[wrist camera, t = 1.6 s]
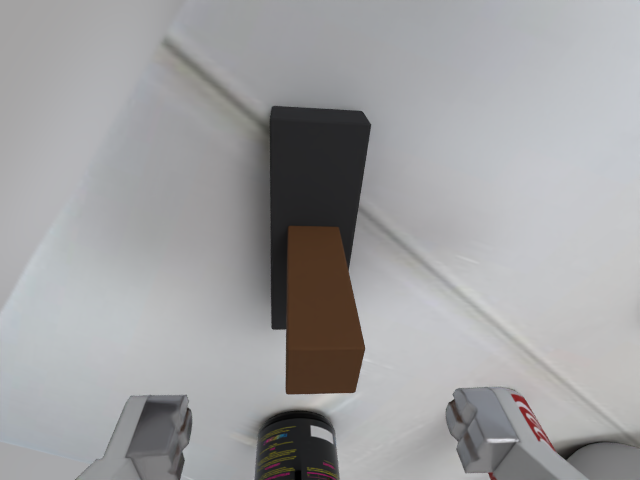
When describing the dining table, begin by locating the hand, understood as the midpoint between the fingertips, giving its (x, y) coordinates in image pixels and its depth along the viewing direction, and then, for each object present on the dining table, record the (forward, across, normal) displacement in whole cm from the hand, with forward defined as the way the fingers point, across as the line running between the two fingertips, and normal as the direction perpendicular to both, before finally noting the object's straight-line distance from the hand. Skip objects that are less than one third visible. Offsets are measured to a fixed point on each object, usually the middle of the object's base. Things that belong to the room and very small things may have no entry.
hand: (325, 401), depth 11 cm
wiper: (+10, 0, 0) cm, 10 cm away
